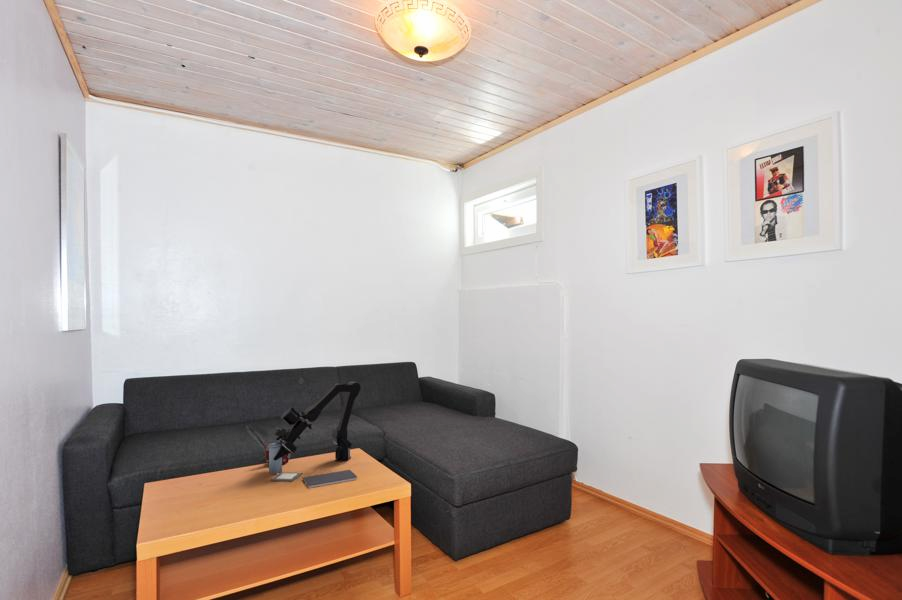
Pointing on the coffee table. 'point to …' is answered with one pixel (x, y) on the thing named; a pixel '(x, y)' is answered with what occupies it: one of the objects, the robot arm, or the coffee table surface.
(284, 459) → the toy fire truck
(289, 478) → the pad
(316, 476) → the notebook
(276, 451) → the vase
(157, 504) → the coffee table surface
